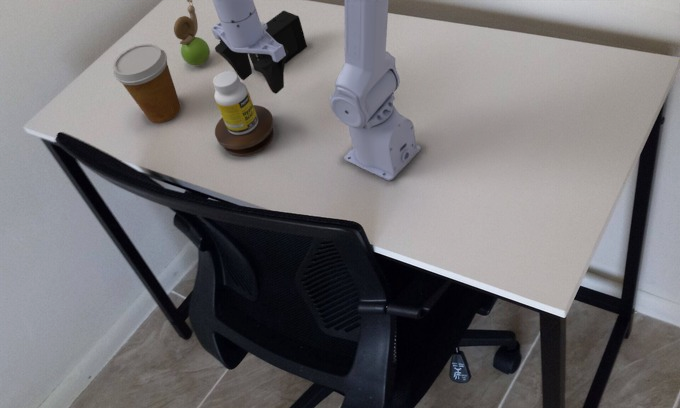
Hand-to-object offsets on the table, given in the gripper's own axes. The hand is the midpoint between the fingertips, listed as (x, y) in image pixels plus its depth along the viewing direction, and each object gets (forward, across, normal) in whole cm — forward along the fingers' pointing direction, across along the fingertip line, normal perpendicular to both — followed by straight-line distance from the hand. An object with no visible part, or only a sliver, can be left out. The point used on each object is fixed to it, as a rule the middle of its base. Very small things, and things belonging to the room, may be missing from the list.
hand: (262, 82), depth 111 cm
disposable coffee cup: (+8, +20, +9) cm, 24 cm away
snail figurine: (+8, +25, -5) cm, 27 cm away
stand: (+8, 0, +6) cm, 10 cm away
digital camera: (+8, +11, -13) cm, 19 cm away
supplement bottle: (+5, 0, +6) cm, 8 cm away
